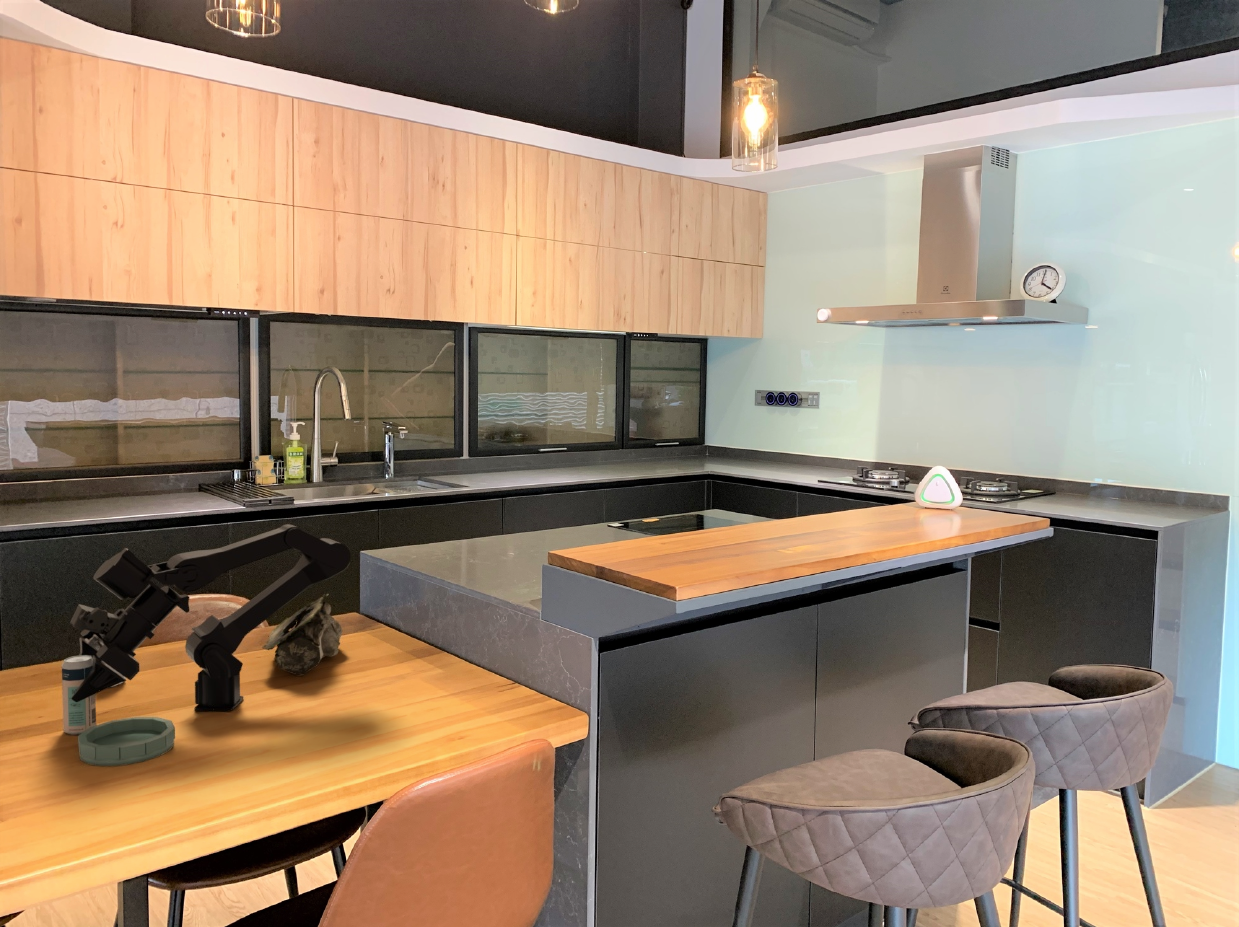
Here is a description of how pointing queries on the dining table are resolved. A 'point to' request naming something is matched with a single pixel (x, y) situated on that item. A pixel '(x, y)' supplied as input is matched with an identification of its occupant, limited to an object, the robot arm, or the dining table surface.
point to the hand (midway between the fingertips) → (69, 692)
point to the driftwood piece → (305, 638)
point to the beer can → (73, 675)
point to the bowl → (126, 741)
